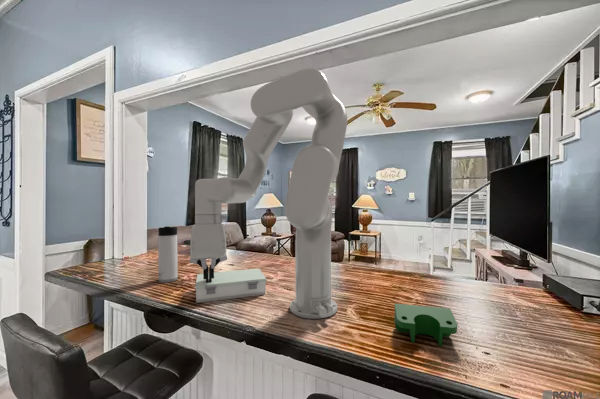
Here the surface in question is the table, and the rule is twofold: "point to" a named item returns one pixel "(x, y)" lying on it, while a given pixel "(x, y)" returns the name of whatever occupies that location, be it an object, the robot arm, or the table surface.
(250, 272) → the cover
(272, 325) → the table surface
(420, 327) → the clamp
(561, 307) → the table surface
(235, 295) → the white latched case
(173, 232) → the travel mug
